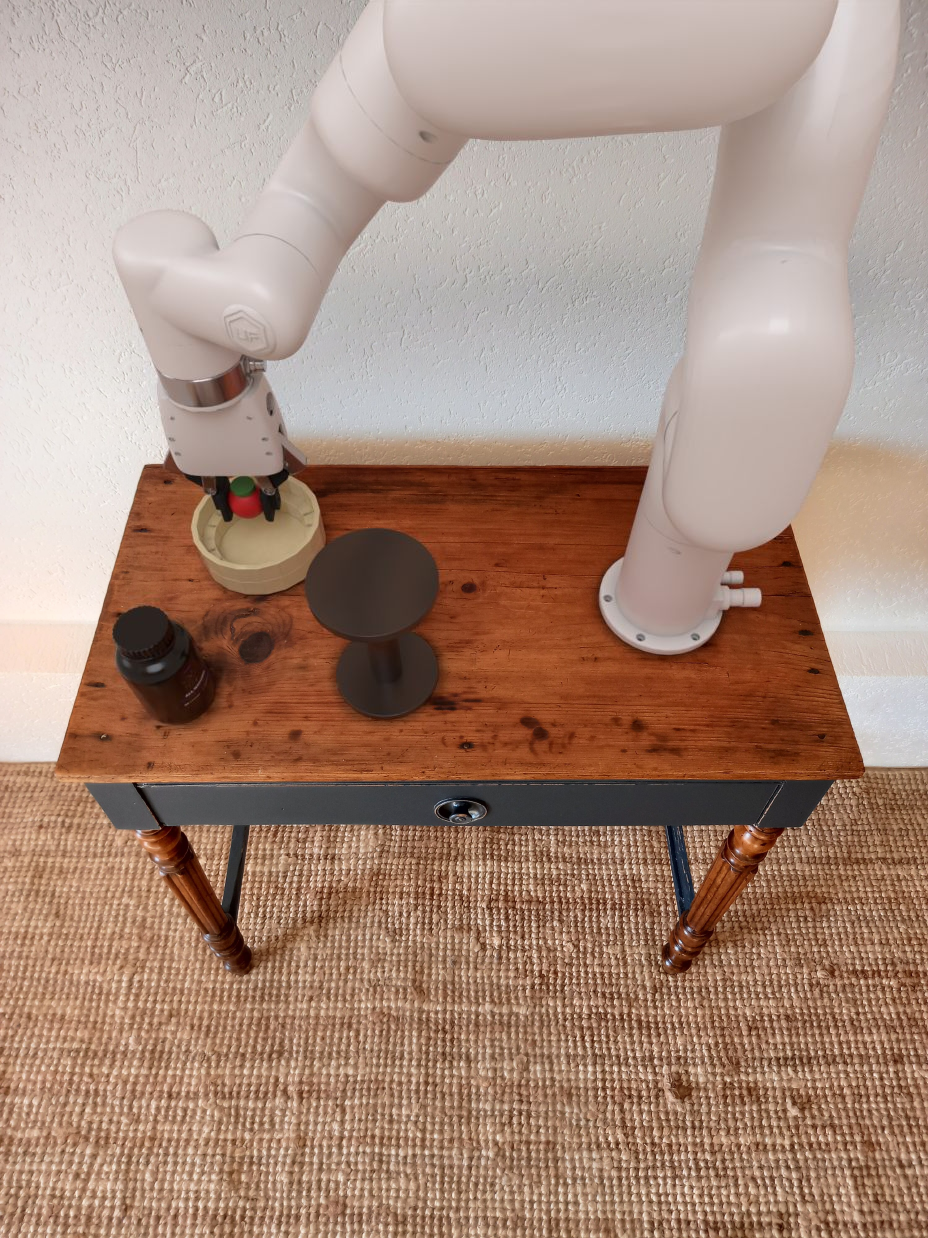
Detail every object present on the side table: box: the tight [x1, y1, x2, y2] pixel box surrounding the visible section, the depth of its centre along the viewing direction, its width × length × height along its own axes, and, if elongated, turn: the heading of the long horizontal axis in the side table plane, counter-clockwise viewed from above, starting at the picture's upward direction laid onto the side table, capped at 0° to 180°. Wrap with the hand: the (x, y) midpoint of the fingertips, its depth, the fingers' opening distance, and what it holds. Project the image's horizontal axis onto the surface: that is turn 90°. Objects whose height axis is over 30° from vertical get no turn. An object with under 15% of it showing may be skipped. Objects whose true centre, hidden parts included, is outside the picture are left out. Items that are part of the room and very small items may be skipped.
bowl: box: [190, 475, 327, 595], centre depth 86 cm, size 13×13×5 cm
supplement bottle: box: [111, 605, 216, 725], centre depth 73 cm, size 7×7×12 cm
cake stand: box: [304, 527, 440, 721], centre depth 72 cm, size 11×11×16 cm
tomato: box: [228, 476, 263, 519], centre depth 81 cm, size 4×4×4 cm
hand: (250, 510), depth 83 cm, fingers closed on tomato, 3 cm apart
